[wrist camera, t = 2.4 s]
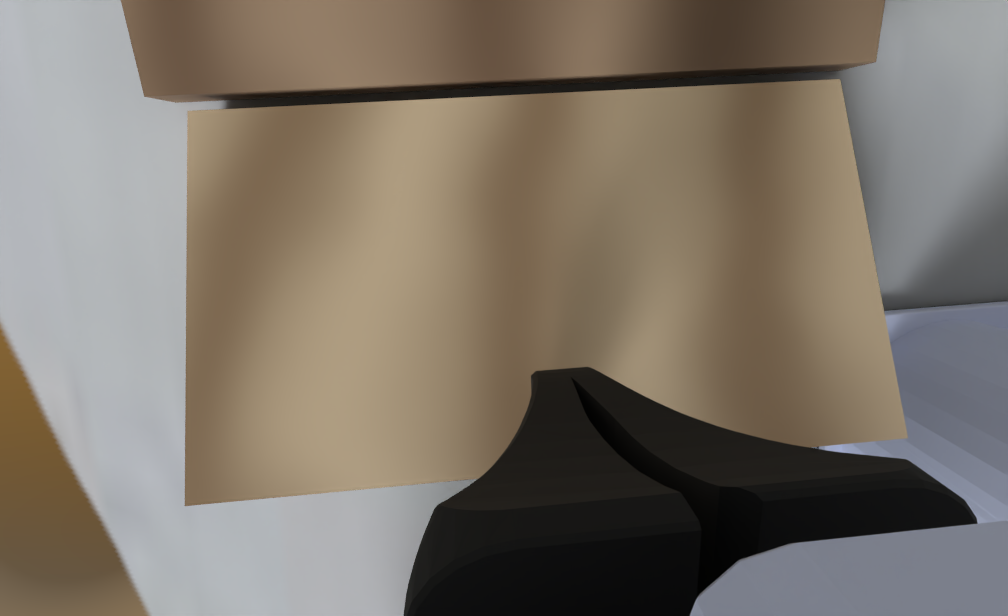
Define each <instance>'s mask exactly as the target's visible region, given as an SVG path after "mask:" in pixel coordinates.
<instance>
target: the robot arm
mask: <svg viewBox="0 0 1008 616" xmlns="http://www.w3.org/2000/svg"><path fill="white" fill-rule="evenodd" d="M884 313H885V319H886V324H887V329H888V334H889V340H890V345H891V350H892V356H893V361H894V366H895V371H896V377H897V382H898V387H899V393H900V398H901V403H902V408H903V414H904V419H905V424H906V430H907V435H908V438H905V439H894V440H883V441H873V442H862V443H851V444H841V445H830V446H819V449H815V448H809V447H803V446H797V445H791V444H786V443H782V442H777V441H772V440H767V439H763V438H759V437H755V436H751V435H748V434H744V433H740V432H736V431H732V430H729V429H726V428H722V427H719V426H716V425H713V424H710V423H707V422H704V421H702V420H699V419H696V418H693V417H690V416H688V415H685V414H683V413H680V412H678V411H675V410H673V409H671V408H669V407H666V406H664V405H662V404H660V403H658V402H655V401H653V400H651V399H649V398H647V397H645V396H643V395H641V394H639V393H637V392H635V391H634V390H632V389H630V388H628V387H626V386H624V385H622V384H621V383H619V382H617V381H615V380H613V379H612V378H610V377H608V376H606V375H604V374H602V373H601V372H599V371H597V370H595V369H593V368H590V367H578V368H566V369H553V370H541V371H535V372H534V373H533V374H532V375H531V398H530V402H529V405H528V408H527V411H526V413H525V416H524V418H523V420H522V423H521V425H520V427H519V429H518V431H517V433H516V434H515V436H514V438H513V439H512V441H511V442H510V444H509V445H508V447H507V448H506V450H505V451H504V452H503V453H502V455H501V456H500V457H499V459H498V460H497V461H496V462H495V463H494V465H493V466H492V467H491V468H490V469H489V470H488V471H487V472H486V473H485V474H483V475H482V476H481V477H480V478H479V479H477V480H476V481H475V482H474V483H472V484H471V485H470V486H468V487H467V488H465V489H464V490H462V491H460V492H459V493H457V494H455V495H454V496H452V497H451V498H449V499H447V500H446V501H444V502H442V503H440V504H438V506H437V507H436V508H435V509H434V511H433V514H432V516H431V518H430V521H429V523H428V526H427V528H426V530H425V533H424V535H423V538H422V541H421V544H420V547H419V549H418V552H417V555H416V559H415V562H414V565H413V569H412V573H411V576H410V580H409V584H408V589H407V594H406V602H405V610H404V616H1008V301H1005V302H992V303H980V304H967V305H954V306H941V307H928V308H915V309H902V310H890V311H884Z"/></svg>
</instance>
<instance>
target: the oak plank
mask: <svg viewBox="0 0 1008 616" xmlns="http://www.w3.org/2000/svg"><path fill="white" fill-rule="evenodd" d="M578 367H590V368H593V369H595V370H597V371H599V372H601V373H602V374H604V375H606V376H608V377H610V378H612V379H613V380H615V381H617V382H619V383H621V384H622V385H624V386H626V387H628V388H630V389H632V390H634V391H635V392H637V393H639V394H641V395H643V396H645V397H647V398H649V399H651V400H653V401H655V402H658V403H660V404H662V405H664V406H666V407H669V408H671V409H673V410H675V411H678V412H680V413H683V414H685V415H688V416H690V417H693V418H696V419H699V420H702V421H704V422H707V423H710V424H713V425H716V426H719V427H722V428H726V429H729V430H732V431H736V432H740V433H744V434H748V435H751V436H755V437H759V438H763V439H767V440H772V441H777V442H782V443H786V444H791V445H797V446H803V447H819V446H830V445H841V444H851V443H862V442H873V441H883V440H894V439H905V438H908V435H907V430H906V424H905V419H904V414H903V408H902V403H901V398H900V393H899V387H898V382H897V377H896V371H895V366H894V361H893V356H892V350H891V345H890V340H889V334H888V329H887V324H886V319H885V313H884V308H883V303H882V297H881V292H880V287H879V282H878V276H877V271H876V266H875V260H874V255H873V250H872V245H871V239H870V234H869V229H868V223H867V218H866V213H865V208H864V202H863V197H862V192H861V186H860V181H859V176H858V171H857V165H856V160H855V155H854V149H853V144H852V139H851V133H850V128H849V123H848V118H847V112H846V107H845V102H844V96H843V91H842V86H841V81H840V79H830V80H810V81H789V82H769V83H749V84H728V85H708V86H687V87H667V88H647V89H626V90H606V91H586V92H565V93H545V94H524V95H504V96H484V97H463V98H443V99H423V100H402V101H382V102H361V103H341V104H321V105H300V106H280V107H260V108H239V109H219V110H198V111H188V139H187V280H186V422H185V506H190V505H201V504H211V503H222V502H233V501H243V500H254V499H265V498H275V497H286V496H297V495H307V494H318V493H329V492H339V491H350V490H361V489H371V488H382V487H393V486H403V485H414V484H425V483H435V482H446V481H457V480H467V479H478V478H480V477H481V476H482V475H483V474H485V473H486V472H487V471H488V470H489V469H490V468H491V467H492V466H493V465H494V463H495V462H496V461H497V460H498V459H499V457H500V456H501V455H502V453H503V452H504V451H505V450H506V448H507V447H508V445H509V444H510V442H511V441H512V439H513V438H514V436H515V434H516V433H517V431H518V429H519V427H520V425H521V423H522V420H523V418H524V416H525V413H526V411H527V408H528V405H529V402H530V398H531V375H532V374H533V373H534V372H535V371H541V370H553V369H566V368H578Z"/></svg>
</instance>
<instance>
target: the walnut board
mask: <svg viewBox="0 0 1008 616" xmlns="http://www.w3.org/2000/svg"><path fill="white" fill-rule="evenodd" d="M121 3H122V7H123V11H124V15H125V19H126V23H127V27H128V31H129V35H130V39H131V44H132V48H133V52H134V56H135V60H136V64H137V68H138V72H139V76H140V81H141V85H142V89H143V93H144V97H149V98H155V99H160V100H165V101H171V102H197V101H218V100H239V99H260V98H280V97H301V96H322V95H343V94H364V93H385V92H405V91H426V90H447V89H468V88H489V87H509V86H530V85H551V84H572V83H593V82H613V81H634V80H655V79H676V78H697V77H718V76H738V75H759V74H780V73H801V72H822V71H839V70H843V69H848V68H852V67H856V66H861V65H865V64H869V63H874V62H876V58H877V51H878V44H879V38H880V31H881V24H882V17H883V11H884V4H885V0H121Z"/></svg>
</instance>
